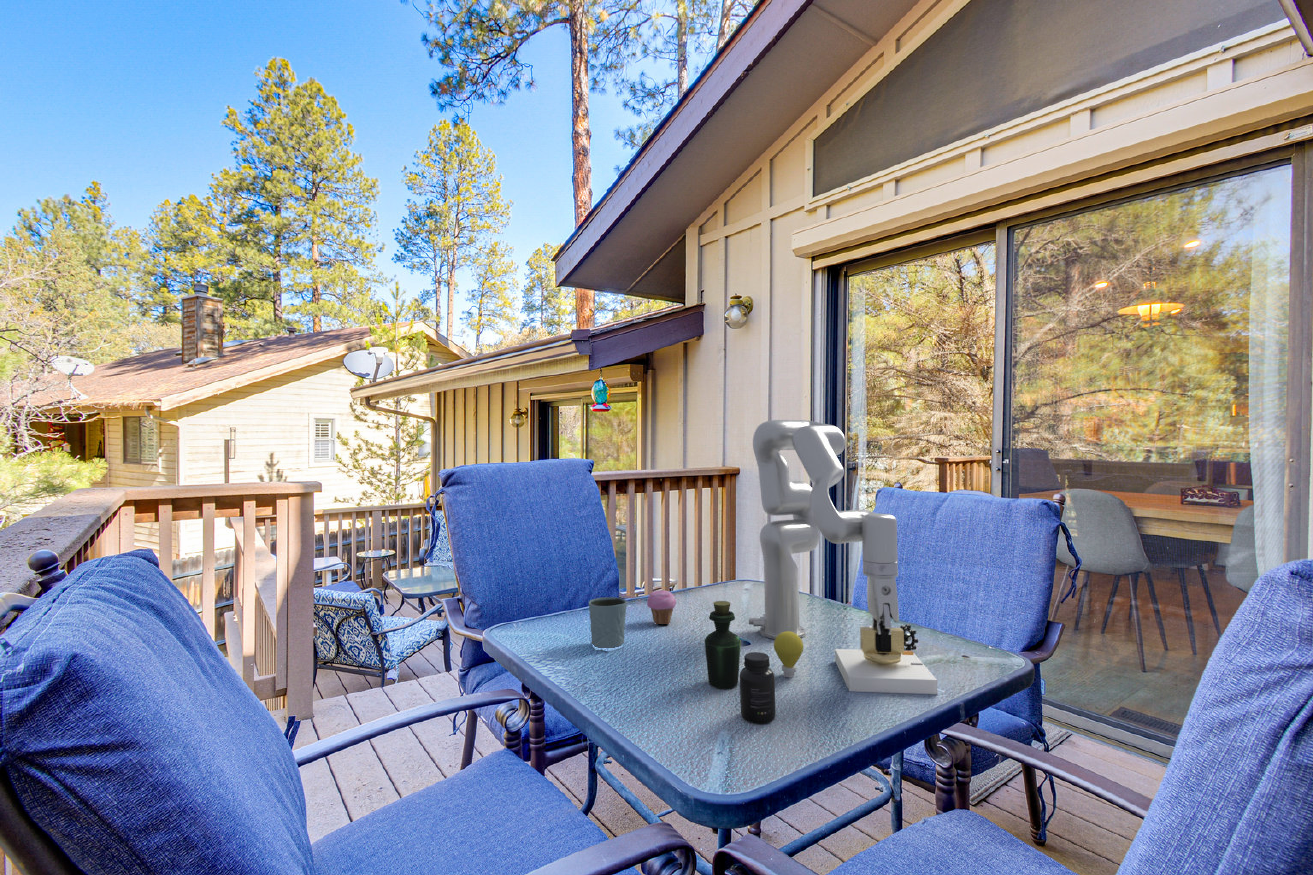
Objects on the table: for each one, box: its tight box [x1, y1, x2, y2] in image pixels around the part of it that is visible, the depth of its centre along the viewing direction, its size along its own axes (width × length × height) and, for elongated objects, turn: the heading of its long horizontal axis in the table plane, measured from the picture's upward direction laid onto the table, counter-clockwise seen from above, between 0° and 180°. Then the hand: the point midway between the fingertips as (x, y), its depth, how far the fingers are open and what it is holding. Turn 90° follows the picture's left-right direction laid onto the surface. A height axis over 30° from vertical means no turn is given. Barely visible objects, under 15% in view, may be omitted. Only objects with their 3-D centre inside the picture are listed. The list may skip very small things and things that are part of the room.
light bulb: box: [773, 631, 804, 678], centre depth 139 cm, size 7×7×10 cm
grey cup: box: [588, 596, 628, 648], centre depth 162 cm, size 10×10×12 cm
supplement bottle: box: [739, 651, 777, 725], centre depth 118 cm, size 7×7×12 cm
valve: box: [869, 623, 919, 651], centre depth 153 cm, size 7×7×12 cm
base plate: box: [834, 648, 938, 695], centre depth 137 cm, size 18×18×3 cm
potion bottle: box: [703, 600, 742, 690], centre depth 135 cm, size 8×8×18 cm
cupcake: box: [646, 589, 677, 625], centre depth 181 cm, size 9×9×10 cm
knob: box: [859, 626, 914, 664], centre depth 137 cm, size 11×8×8 cm
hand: (882, 648), depth 137 cm, fingers closed on knob, 2 cm apart
